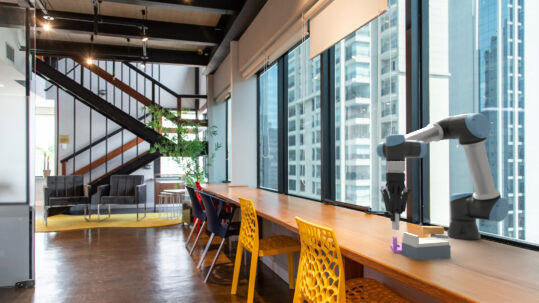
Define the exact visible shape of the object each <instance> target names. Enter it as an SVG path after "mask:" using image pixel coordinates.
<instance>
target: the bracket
mask: <svg viewBox="0 0 539 303" xmlns="http://www.w3.org/2000/svg"><path fill="white" fill-rule="evenodd" d="M390 249H391V250H392V252H393V254H402V243H398V236H394V235H393V236H392V243H390Z"/></svg>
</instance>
